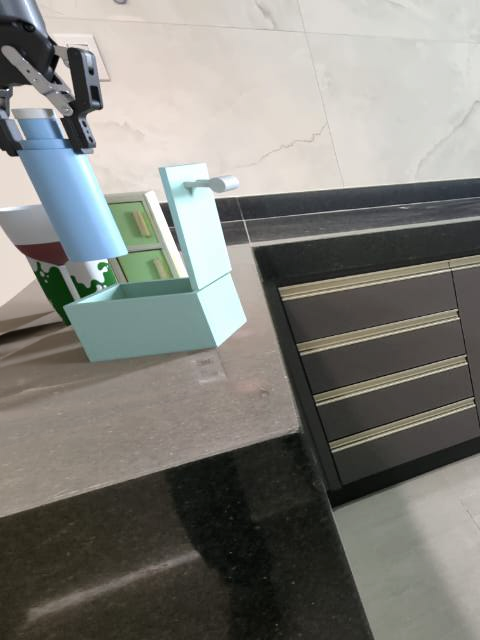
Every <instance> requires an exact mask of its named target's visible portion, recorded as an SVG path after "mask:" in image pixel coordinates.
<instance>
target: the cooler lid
mask: <svg viewBox="0 0 480 640" xmlns="http://www.w3.org/2000/svg"><path fill="white" fill-rule="evenodd" d="M157 169H158V173H159V177H160V180H161V184H162V186H163V190H164V193H165V197H166V201H167V206H168V208H169V212H170V216H171V219H172V223H173V226H174V230H175V233H176V237H177V241H178V245H179V247H180V251H181V254H182V258H183V263H184V267H185V269H186V272H187V274H188V277H189V280H190V283H191V287H192V290H199V289H201V288H203V287H204V286H206V285H208V284H209V283H211V282H213V281H214V280H216V279H218V278H219V277H221V276H223V275H224V274H226V273H230V272H231V271H232V270H233V269H232V265H231V261H230V257H229V253H228V249H227V245H226V241H225V237H224V232H223V229H222V224H221V220H220V215H219V212H218V208H217V204H216V200H215V196H214V193H216V194H221V193H225V192H230V191H234V190H236V189H238V188H239V187H240V181H239V180H238V178H237V177H236V176H234V175H232V174H226V175H221V176H215V177H211V178H210V177H209V171H208V167H207V164H206V162H196V163H194V162H193V163H186V164H178V165H168V166H161V167H158V168H157Z"/></svg>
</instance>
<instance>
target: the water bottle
mask: <svg viewBox="0 0 480 640" xmlns="http://www.w3.org/2000/svg"><path fill="white" fill-rule="evenodd" d="M10 112H11V113H12V116H13V118H14V120H16V121H17V123H18V125H19V127H20V130H21V131H22V135H23V136H24V138H25V139H23V140H20V142H21V144H22V146H23V148H24V150H17V153H18V155H19V157H18V158H19V159H20V162H21V163H22V166H23V168H24V169H25V172H26V174H27V176H28V179H29V180H30V183H31V184H32V186H33V189H34V191H35V192H36V195H37V197H38V199H39V201H40V204H42V205H43V207H44V209H45V211H46V214H47V216H48V218H49V220H50V222H51V224H52V226H53V228H54V230H55V232H56V234H57V236H58V239H59V241H60V243H61V245H62V247H63V249H64V251H65V253H66V255H67V257H68V259H69V261H70V262H86V261H96V260H103V259H109V258H115V257H119V256H123V255H126V254H128V251H127V249H126V246H125V244H124V242H123V239H122V237H121V235H120V232H119V230H118V228H117V225H116V223H115V221H114V219H113V216H112V214H111V212H110V209H109V207H108V205H107V202H106V200H105V198H104V195H103V194H104V193H103V191H102V189H101V187H100V184H99V181H98V179H97V177H96V175H95V172H94V170H93V167H92V165H91V163H90V160H89V158H88V156H87V154H76V153H75V152H74V150H73V148H72V145H71V143H70V141H69V138H66V137H65V135H64V132H63V130H62V127H61V125H60V123H59V120H58V116H57V114H56V111H55V110H54V108H45V107H44V108H43V107H42V108H41V107H39V108H38V107H33V108H32V107H31V108H29V107H27V108H26V107H24V108H21V107H20V108H10Z"/></svg>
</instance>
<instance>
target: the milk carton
mask: <svg viewBox="0 0 480 640" xmlns="http://www.w3.org/2000/svg"><path fill="white" fill-rule="evenodd" d="M25 259H26V261H27V262H28V265H29V266H30V268H31V270H32V272H33V274H34V276H35V278H36V280H37V282H38V285H40V288H41V290H42V291H43V293H44V295H45V297H46V299H47V301H48V302H49V304H50V305H51V307H52V308H53V309H54V311H55V312H56V313H57V314H58V316H59V317H60V318H61V320H62V321H63V323H64V324H65V325H66V327H70V326H72V324H71V322H70V320H69V318H68V316H67V314H66V312H65V310H64V308H63V306H65V305H67V304H70V303H72V302H74V301H75V300H74V298H73V296H72V294H71V292H70V290H69V288H68V286H67V284H66V282H65V280H64V278H63V276H62V274H61V272H60V270H59V268H58V266H57V265H54V264H50V263H46V262H41V261H38V260H34V259H32V258H29V257H27V256H25ZM65 267H66V269H67V271H68V273H69V275H70V277H71V279H72V282H73V284H74V286H75V288H76V290H77V292H78V294H79V296H80V298H83V297H86V296H88V295H90V294H93V293H95V292H97V291H99V290H102V289H104V288H106V287H109V286H111V285H113V284H116V283H118V282H117V279H116V277H115V275H114V273H113V271H112V269H111V266H110V264H109V262H108V260H107V259H103V260H96V261H86V262H70V261H68V262H66V263H65Z"/></svg>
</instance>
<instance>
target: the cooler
mask: <svg viewBox="0 0 480 640" xmlns="http://www.w3.org/2000/svg"><path fill="white" fill-rule="evenodd" d="M63 308H64V310H65V312H66V314H67V316H68V318H69V320H70V322H71V324H72V325H71V327H72V328H73V330H74V332H75V334H76V336H77V338H78V340H79V342H80V344H81V346H82V348H83V350H84V352H85V354H86V356H87V358H88V360H89V362H90V363H96V362H97V363H98V362H107V361H114V360H123V359H130V358H139V357H147V356H155V355H163V354H172V353H180V352H188V351H195V350H204V349H212V348H219V347H220V345H222V344H223V343H224V342H225V341H226V340H227V339H229V338H230V336H232V335H233V334H234V333H235V332H237V330H239V329H240V328H241V327H242V326H243V325H244V324H245V323H247V322H248V321H247V317H246V315H245V312H244V309H243V306H242V304H241V299H240V297H239V294H238V292H237V289H236V286H235V284H234V280H233V278H232V275H231V273H230V272H228V273H226V274H224V275H223V276H221V277H219V278H218V279H216V280H214V281H213V282H211V283H209V284H208V285H206V286H204V287H203V288H201V289H199V290H192V287H191V283H190V280H189V276H188V277H181V278H170V279H159V280H148V281H138V282H127V283H118V282H117V283H116V284H113V285H111V286H109V287H106V288H104V289H102V290H99V291H97V292H95V293H93V294H90V295H88V296H86V297H83V298H81V299H79V300H77V301H74V302H72V303H70V304H67V305H65V306H63Z"/></svg>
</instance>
